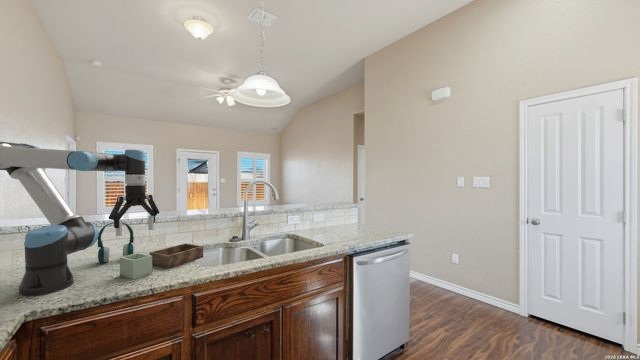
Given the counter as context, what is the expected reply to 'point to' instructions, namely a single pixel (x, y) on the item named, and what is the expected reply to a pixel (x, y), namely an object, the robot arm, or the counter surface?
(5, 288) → the counter surface
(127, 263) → the small crate
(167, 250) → the big crate
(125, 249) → the headphones
